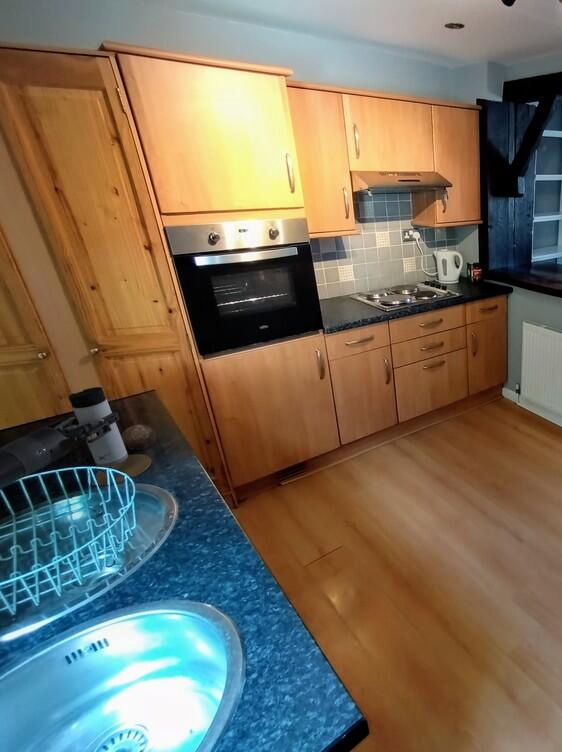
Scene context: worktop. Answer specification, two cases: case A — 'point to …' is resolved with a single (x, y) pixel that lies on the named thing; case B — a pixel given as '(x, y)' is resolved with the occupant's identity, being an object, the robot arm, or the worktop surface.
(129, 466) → the cork coaster
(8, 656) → the worktop surface
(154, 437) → the mushroom
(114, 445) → the travel mug
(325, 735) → the worktop surface
